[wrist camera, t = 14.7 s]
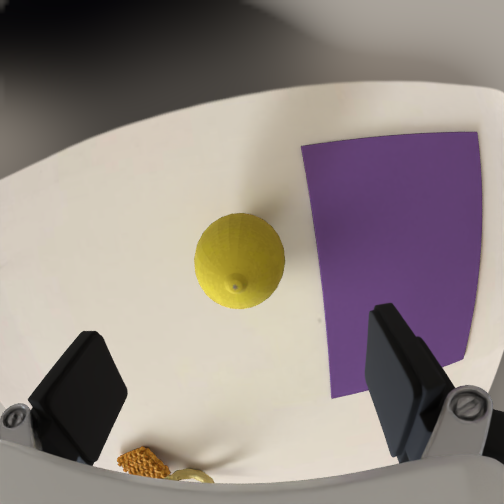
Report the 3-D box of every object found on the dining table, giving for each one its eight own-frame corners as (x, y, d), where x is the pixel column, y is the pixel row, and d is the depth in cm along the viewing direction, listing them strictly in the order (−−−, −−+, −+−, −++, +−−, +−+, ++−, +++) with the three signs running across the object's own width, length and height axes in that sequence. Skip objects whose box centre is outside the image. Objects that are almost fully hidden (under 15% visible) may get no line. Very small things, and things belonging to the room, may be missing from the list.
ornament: (112, 492, 30) (207, 528, 27) (97, 447, 29) (205, 488, 26) (133, 468, 37) (221, 497, 34) (123, 422, 36) (222, 454, 33)
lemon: (202, 206, 22) (173, 238, 14) (278, 201, 22) (289, 230, 14) (210, 276, 24) (190, 334, 16) (281, 272, 24) (291, 330, 16)
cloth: (300, 146, 20) (301, 146, 20) (475, 131, 19) (477, 131, 19) (331, 396, 28) (331, 398, 28) (462, 357, 27) (463, 359, 26)
